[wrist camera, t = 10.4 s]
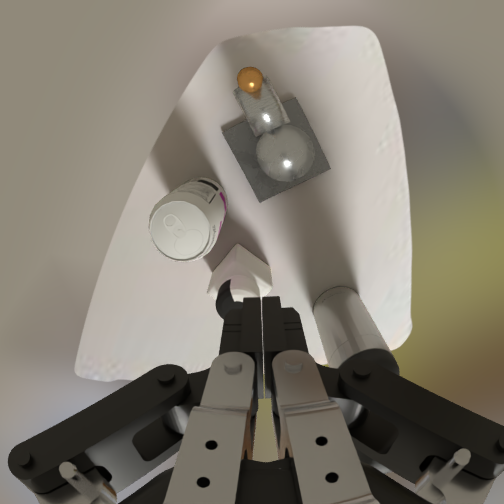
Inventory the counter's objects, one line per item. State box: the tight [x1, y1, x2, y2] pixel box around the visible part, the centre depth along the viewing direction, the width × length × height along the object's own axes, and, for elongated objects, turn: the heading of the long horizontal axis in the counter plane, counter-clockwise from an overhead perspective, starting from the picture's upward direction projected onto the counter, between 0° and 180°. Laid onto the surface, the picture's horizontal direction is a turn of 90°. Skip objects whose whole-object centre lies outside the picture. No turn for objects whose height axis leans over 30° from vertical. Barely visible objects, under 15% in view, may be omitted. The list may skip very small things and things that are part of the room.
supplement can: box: [149, 177, 228, 262], centre depth 38 cm, size 8×8×15 cm
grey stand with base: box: [222, 97, 331, 202], centre depth 38 cm, size 12×12×8 cm
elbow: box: [233, 67, 314, 181], centre depth 32 cm, size 14×6×9 cm, turn 26°
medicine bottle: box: [207, 244, 273, 319], centre depth 44 cm, size 7×7×12 cm
